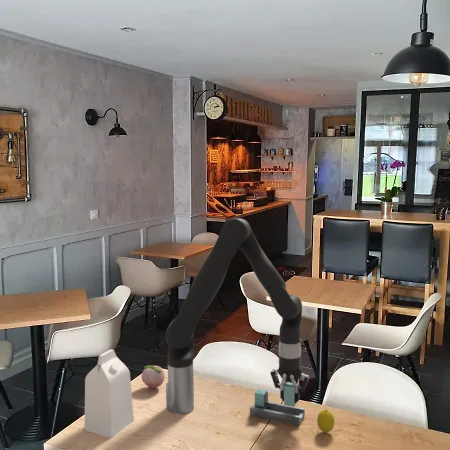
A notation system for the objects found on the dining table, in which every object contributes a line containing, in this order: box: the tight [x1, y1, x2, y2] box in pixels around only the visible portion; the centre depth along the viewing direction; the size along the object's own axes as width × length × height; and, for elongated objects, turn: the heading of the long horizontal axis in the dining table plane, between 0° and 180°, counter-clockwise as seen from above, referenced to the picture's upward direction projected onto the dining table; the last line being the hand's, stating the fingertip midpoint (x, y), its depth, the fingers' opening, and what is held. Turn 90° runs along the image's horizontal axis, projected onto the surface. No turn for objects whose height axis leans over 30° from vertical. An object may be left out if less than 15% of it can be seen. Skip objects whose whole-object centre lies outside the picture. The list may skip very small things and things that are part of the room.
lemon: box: [316, 409, 335, 434], centre depth 160 cm, size 6×6×8 cm
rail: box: [249, 388, 306, 427], centre depth 171 cm, size 18×7×8 cm, turn 66°
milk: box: [84, 349, 135, 439], centre depth 165 cm, size 12×12×26 cm
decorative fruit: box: [141, 365, 166, 389], centre depth 193 cm, size 9×8×10 cm
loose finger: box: [283, 382, 297, 407], centre depth 168 cm, size 4×4×7 cm
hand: (289, 400), depth 169 cm, fingers closed on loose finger, 4 cm apart
